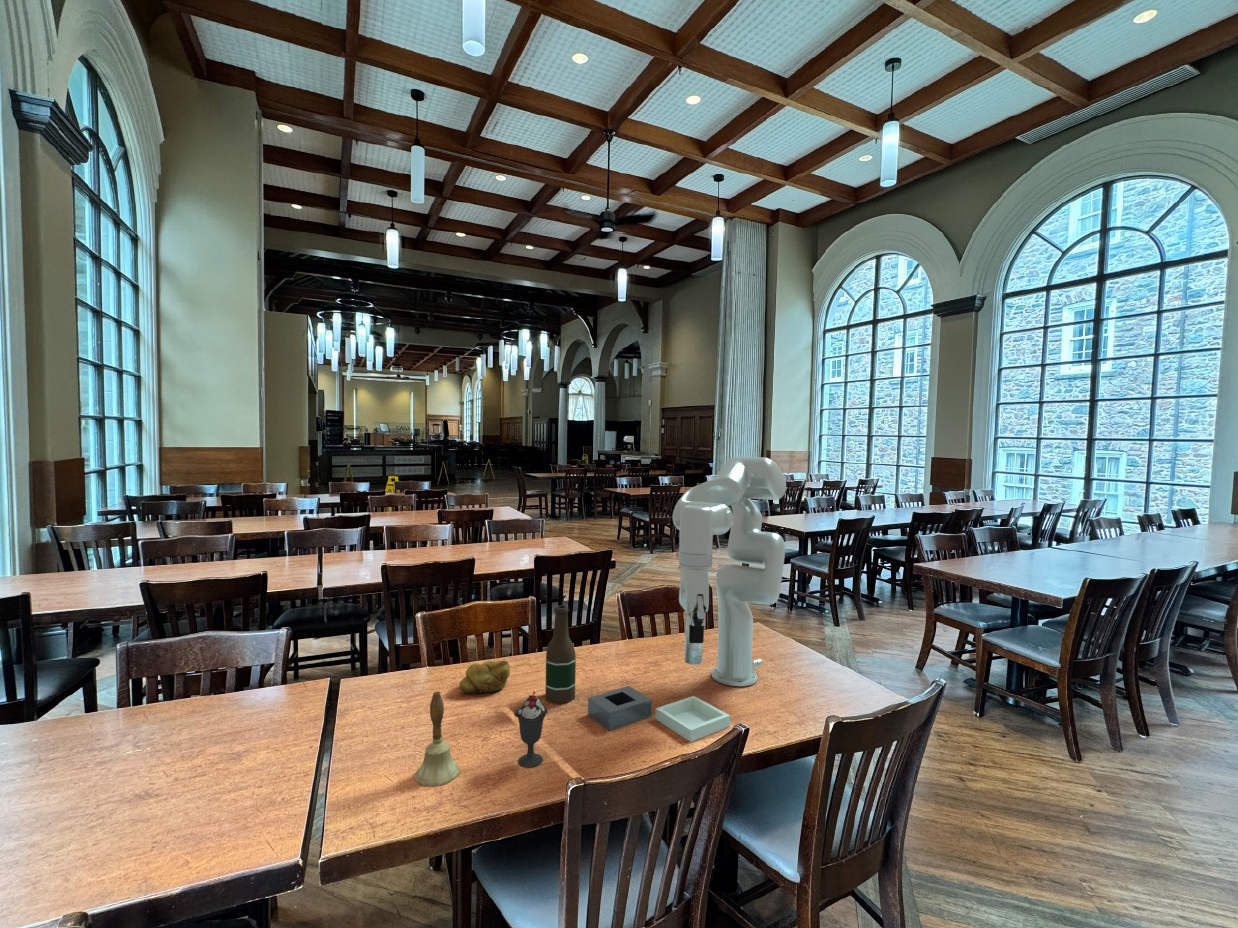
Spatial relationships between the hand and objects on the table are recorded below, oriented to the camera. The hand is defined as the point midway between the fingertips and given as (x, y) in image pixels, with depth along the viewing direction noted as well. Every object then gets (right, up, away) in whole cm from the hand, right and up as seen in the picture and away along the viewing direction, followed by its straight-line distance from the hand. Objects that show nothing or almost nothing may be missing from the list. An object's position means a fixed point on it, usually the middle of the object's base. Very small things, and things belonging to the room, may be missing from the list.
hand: (693, 638), depth 126 cm
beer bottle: (-32, -20, +12) cm, 40 cm away
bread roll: (-53, -20, +19) cm, 60 cm away
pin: (0, -5, 0) cm, 5 cm away
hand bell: (-52, -20, -19) cm, 59 cm away
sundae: (-35, -21, -14) cm, 43 cm away
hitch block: (-17, -20, +3) cm, 27 cm away
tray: (0, -21, +1) cm, 21 cm away
